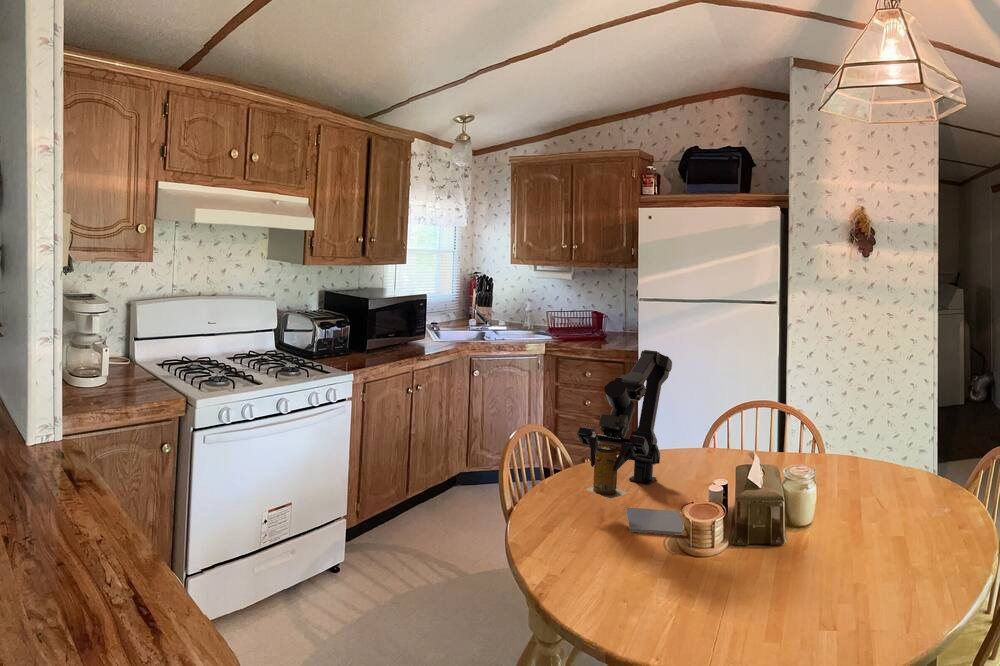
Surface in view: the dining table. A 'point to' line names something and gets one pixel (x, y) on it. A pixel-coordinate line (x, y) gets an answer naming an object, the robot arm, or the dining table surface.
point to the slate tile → (654, 521)
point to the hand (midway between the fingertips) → (603, 468)
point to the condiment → (605, 472)
